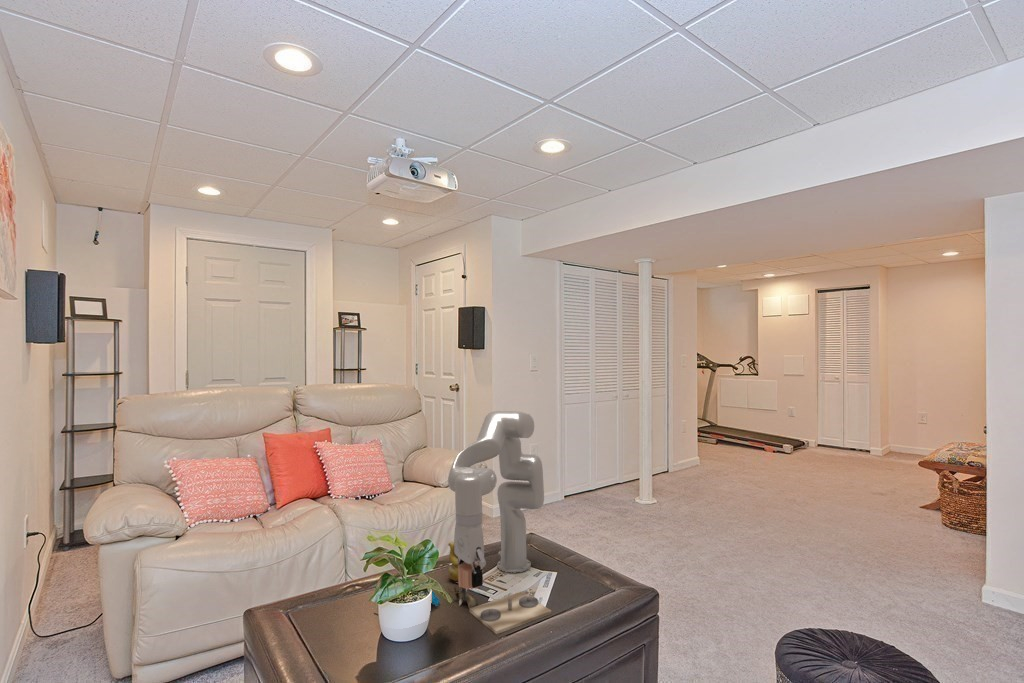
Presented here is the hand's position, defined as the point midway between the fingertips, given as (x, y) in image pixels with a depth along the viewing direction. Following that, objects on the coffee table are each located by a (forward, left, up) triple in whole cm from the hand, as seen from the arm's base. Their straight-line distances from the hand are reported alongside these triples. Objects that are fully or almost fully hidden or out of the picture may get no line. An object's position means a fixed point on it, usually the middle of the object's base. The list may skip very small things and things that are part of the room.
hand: (470, 580), depth 149 cm
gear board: (-6, +17, -16) cm, 24 cm away
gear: (-26, -2, -17) cm, 31 cm away
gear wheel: (0, 0, -1) cm, 1 cm away
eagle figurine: (-19, +8, -17) cm, 26 cm away
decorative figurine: (-35, +16, -17) cm, 42 cm away
